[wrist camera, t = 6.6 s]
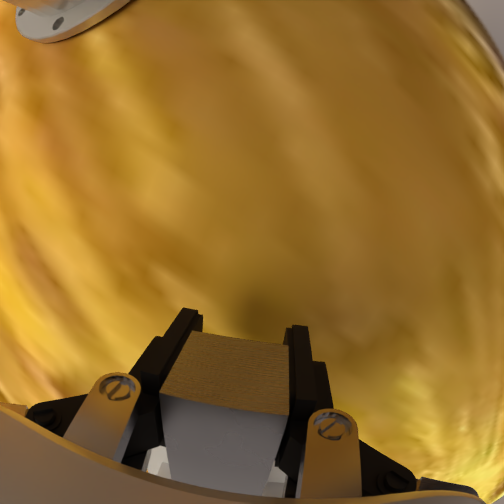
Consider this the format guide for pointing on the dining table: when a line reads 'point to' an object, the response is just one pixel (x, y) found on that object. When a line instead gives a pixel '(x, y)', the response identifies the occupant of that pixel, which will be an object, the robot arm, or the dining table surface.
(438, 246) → the dining table surface
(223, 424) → the shaft
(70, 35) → the robot arm
